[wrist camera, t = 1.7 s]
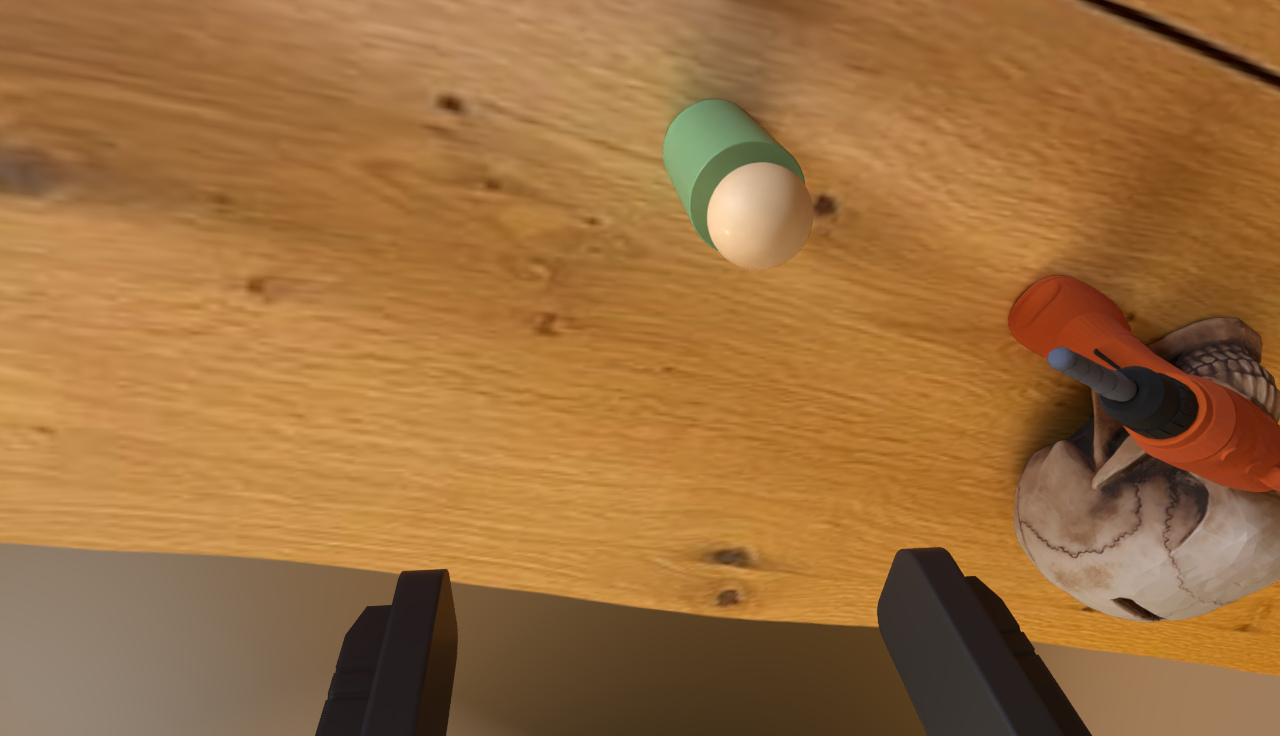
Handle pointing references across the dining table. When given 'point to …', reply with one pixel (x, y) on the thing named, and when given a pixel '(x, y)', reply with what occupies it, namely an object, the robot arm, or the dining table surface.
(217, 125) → the dining table surface
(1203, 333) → the coin bank
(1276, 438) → the toy drill
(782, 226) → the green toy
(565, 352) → the dining table surface
